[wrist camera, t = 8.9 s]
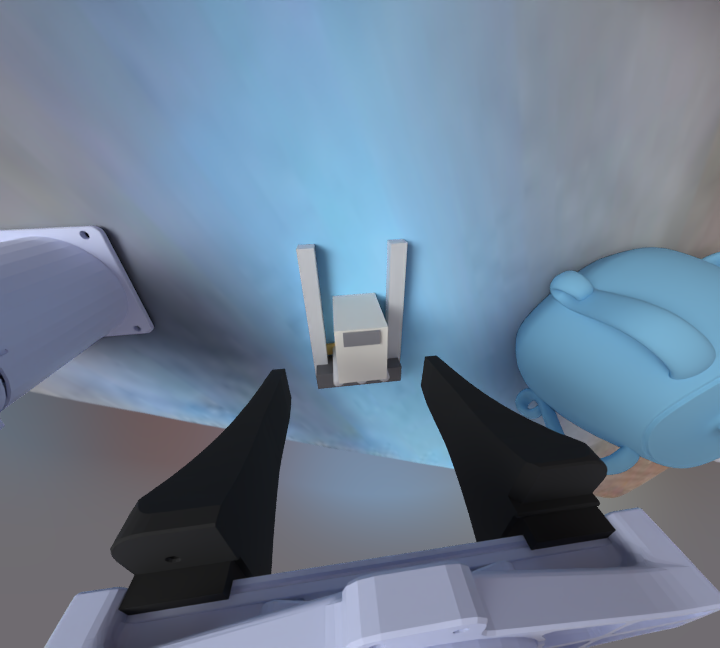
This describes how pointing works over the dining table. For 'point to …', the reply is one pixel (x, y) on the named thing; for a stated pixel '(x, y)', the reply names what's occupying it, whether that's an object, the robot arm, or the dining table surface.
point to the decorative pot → (630, 356)
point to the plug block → (360, 338)
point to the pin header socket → (313, 305)
